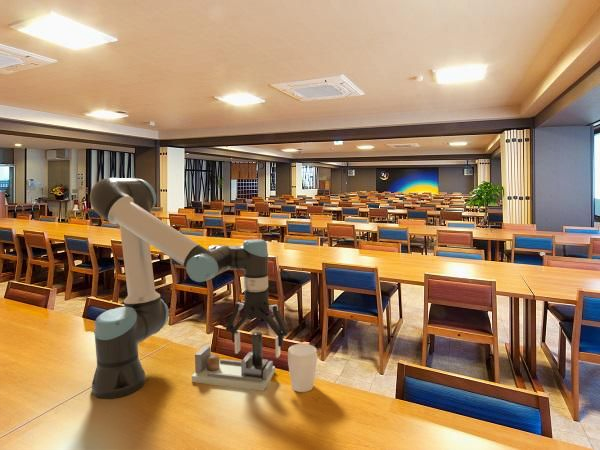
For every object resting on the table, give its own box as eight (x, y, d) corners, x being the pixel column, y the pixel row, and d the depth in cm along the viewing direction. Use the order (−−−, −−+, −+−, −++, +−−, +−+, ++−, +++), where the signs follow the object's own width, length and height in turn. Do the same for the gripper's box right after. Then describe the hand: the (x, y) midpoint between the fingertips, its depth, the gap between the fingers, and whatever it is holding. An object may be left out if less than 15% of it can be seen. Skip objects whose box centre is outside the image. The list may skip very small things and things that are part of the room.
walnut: (204, 370, 123) (204, 359, 123) (210, 365, 127) (210, 353, 127) (216, 372, 122) (215, 360, 122) (221, 366, 126) (221, 354, 126)
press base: (191, 381, 120) (190, 357, 119) (209, 364, 132) (208, 342, 131) (263, 390, 115) (263, 365, 114) (274, 371, 127) (274, 349, 126)
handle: (241, 376, 119) (240, 336, 118) (249, 366, 126) (248, 328, 124) (261, 379, 117) (260, 338, 116) (268, 368, 124) (267, 330, 123)
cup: (314, 396, 112) (314, 357, 111) (284, 392, 114) (284, 354, 113) (318, 380, 121) (319, 344, 120) (291, 378, 123) (291, 342, 121)
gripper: (214, 289, 118) (216, 355, 120) (291, 294, 112) (292, 362, 114) (224, 283, 125) (226, 345, 127) (297, 287, 119) (298, 352, 122)
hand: (257, 353), depth 121 cm, fingers open, 13 cm apart
